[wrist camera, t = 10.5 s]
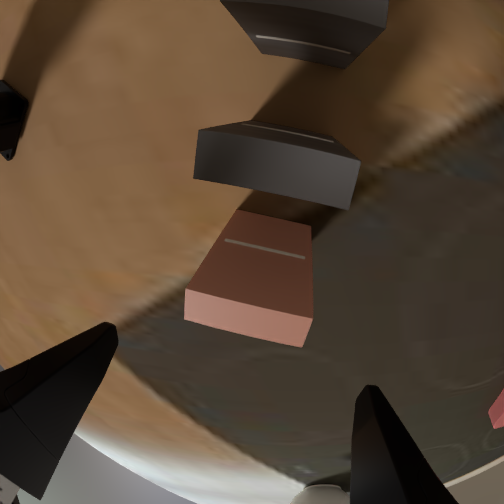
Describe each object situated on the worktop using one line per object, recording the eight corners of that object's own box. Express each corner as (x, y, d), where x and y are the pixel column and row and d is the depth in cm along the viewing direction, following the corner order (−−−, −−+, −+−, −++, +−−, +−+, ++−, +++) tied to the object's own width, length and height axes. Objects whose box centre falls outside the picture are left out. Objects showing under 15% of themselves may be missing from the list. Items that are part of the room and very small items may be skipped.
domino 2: (250, 119, 17) (198, 128, 9) (332, 135, 16) (361, 159, 8) (246, 145, 18) (193, 180, 9) (326, 162, 17) (348, 211, 9)
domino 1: (266, 30, 14) (228, -38, 6) (348, 45, 14) (389, -12, 5) (261, 54, 15) (219, 2, 6) (344, 70, 14) (385, 29, 6)
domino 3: (236, 208, 20) (185, 287, 11) (311, 225, 19) (313, 317, 11) (233, 231, 20) (184, 319, 12) (304, 248, 20) (301, 348, 12)
